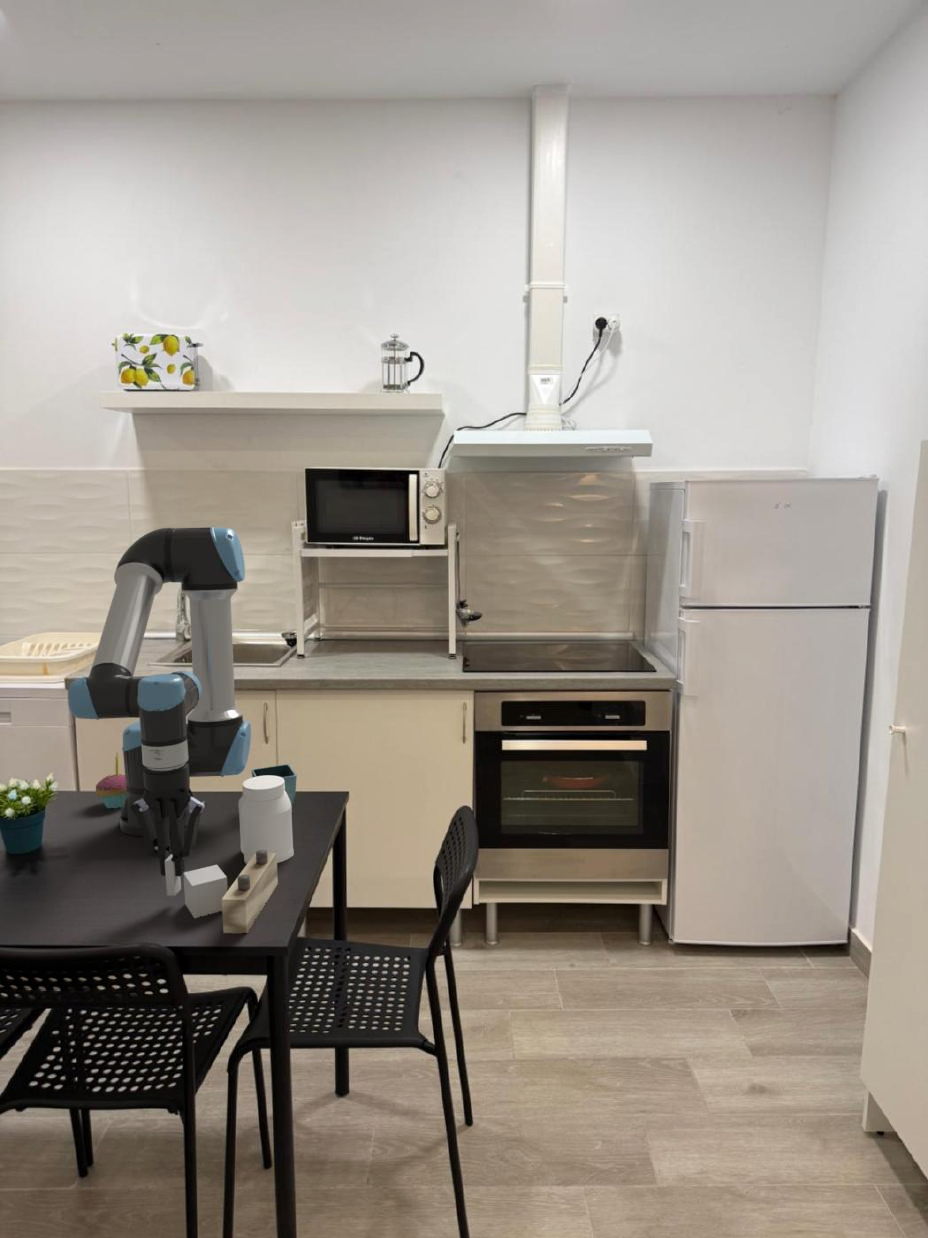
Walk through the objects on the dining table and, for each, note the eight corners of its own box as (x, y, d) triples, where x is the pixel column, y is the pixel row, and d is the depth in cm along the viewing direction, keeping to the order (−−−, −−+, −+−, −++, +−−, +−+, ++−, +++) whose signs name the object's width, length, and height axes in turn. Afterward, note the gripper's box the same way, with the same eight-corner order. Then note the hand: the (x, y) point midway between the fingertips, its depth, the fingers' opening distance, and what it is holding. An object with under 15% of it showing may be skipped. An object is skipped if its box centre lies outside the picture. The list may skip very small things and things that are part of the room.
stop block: (223, 933, 143) (220, 888, 142) (256, 883, 161) (254, 842, 159) (247, 933, 143) (244, 888, 141) (277, 883, 160) (275, 843, 159)
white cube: (185, 904, 153) (183, 872, 152) (218, 895, 156) (216, 864, 155) (194, 918, 148) (192, 885, 147) (228, 909, 151) (226, 877, 150)
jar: (239, 846, 177) (235, 776, 175) (285, 838, 181) (282, 770, 178) (246, 869, 167) (242, 795, 164) (296, 860, 170) (293, 788, 168)
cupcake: (107, 798, 205) (103, 749, 203) (142, 798, 204) (138, 750, 203) (90, 812, 196) (86, 761, 194) (127, 812, 196) (123, 761, 194)
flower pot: (259, 819, 191) (257, 781, 189) (252, 806, 199) (250, 769, 197) (298, 813, 194) (297, 775, 193) (290, 800, 202) (288, 763, 201)
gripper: (119, 770, 145) (128, 901, 149) (194, 772, 144) (201, 903, 148) (139, 756, 153) (147, 881, 156) (210, 758, 152) (217, 883, 155)
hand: (174, 892), depth 152 cm, fingers closed
